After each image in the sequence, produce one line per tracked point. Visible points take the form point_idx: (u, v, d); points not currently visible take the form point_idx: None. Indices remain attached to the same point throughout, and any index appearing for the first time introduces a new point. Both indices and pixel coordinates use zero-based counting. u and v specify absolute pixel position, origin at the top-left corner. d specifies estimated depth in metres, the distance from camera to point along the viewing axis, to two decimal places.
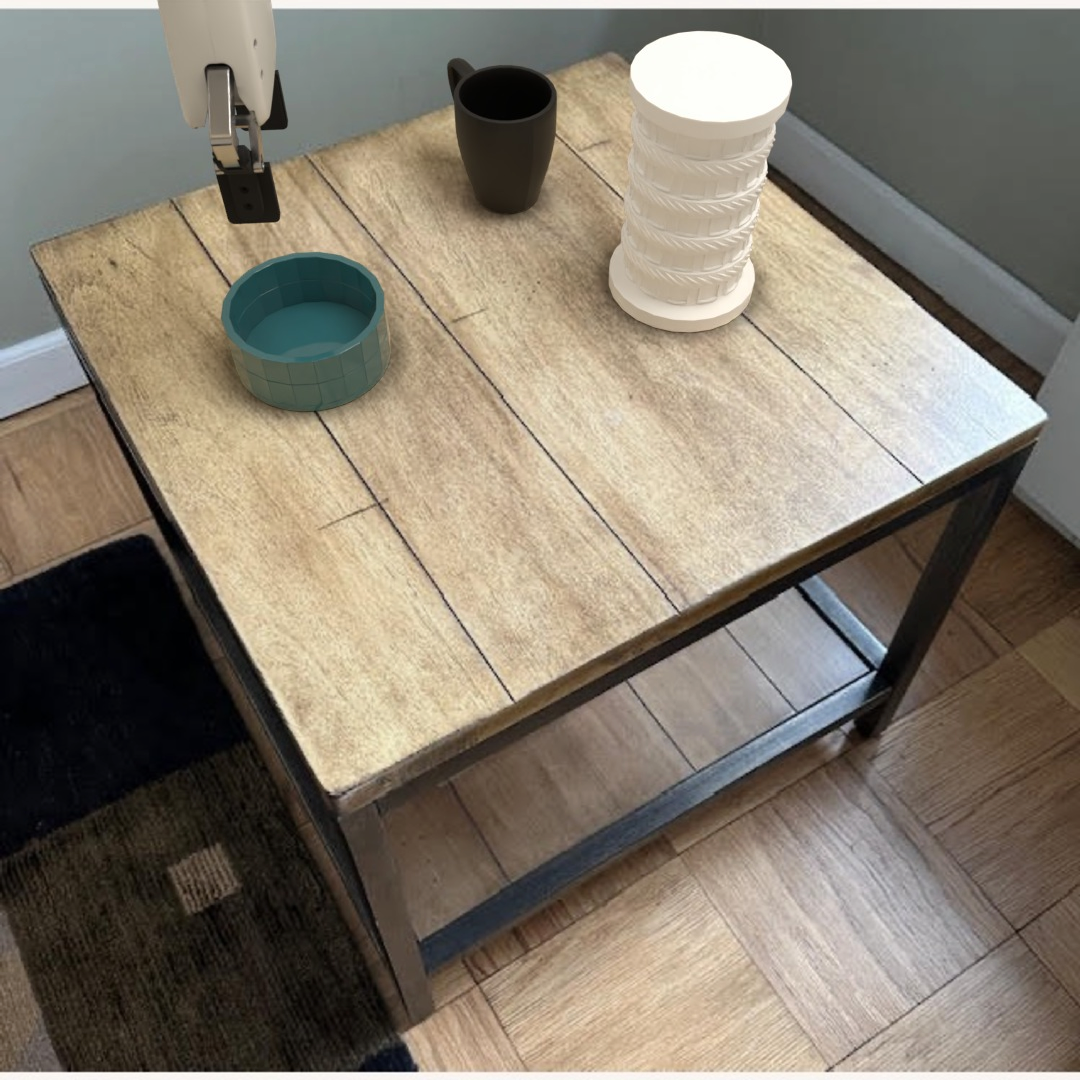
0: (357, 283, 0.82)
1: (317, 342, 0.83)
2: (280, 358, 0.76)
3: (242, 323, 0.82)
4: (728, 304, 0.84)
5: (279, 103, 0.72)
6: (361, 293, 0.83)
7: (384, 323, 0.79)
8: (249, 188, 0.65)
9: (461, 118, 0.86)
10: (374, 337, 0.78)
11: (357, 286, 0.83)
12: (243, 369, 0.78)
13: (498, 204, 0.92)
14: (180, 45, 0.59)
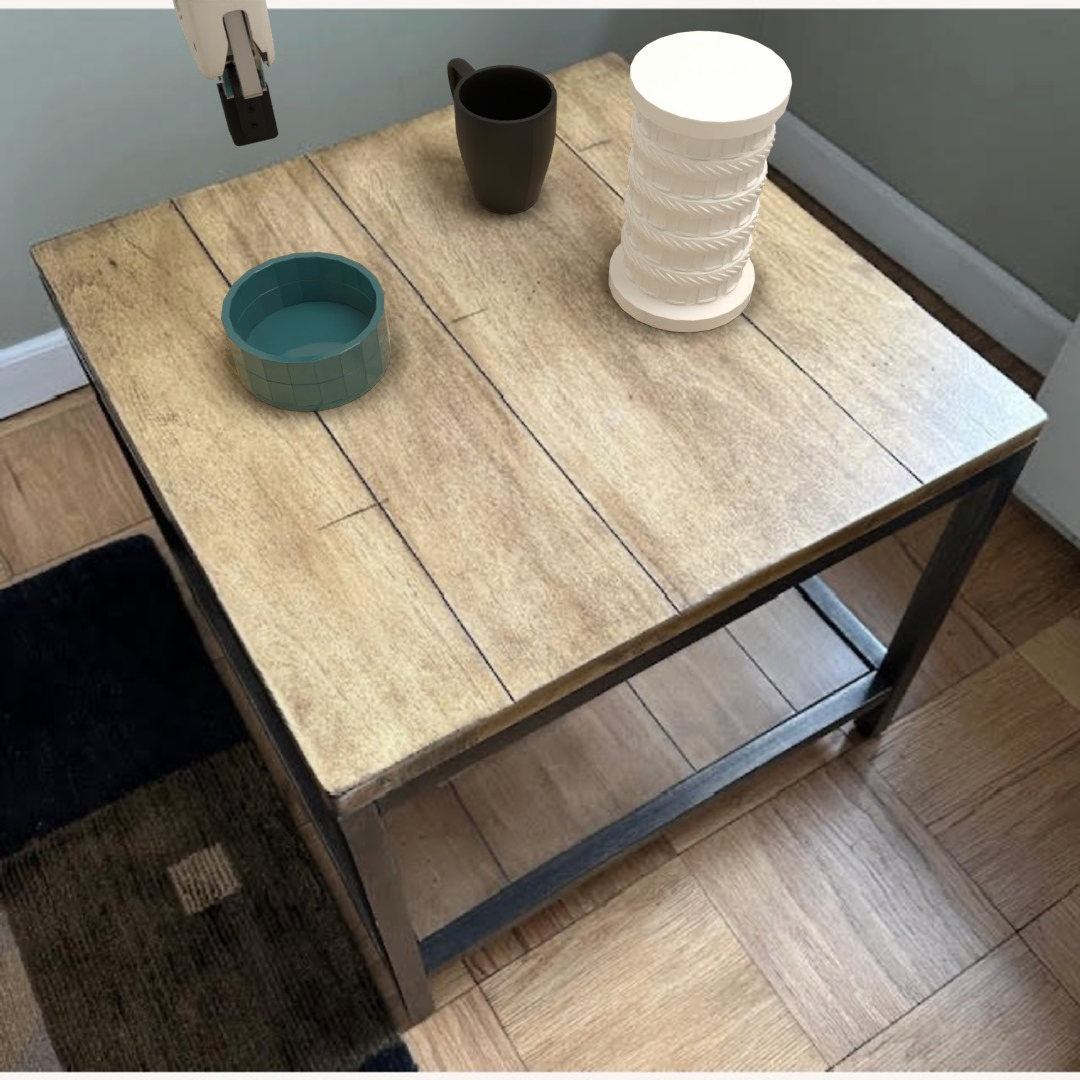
0: (357, 283, 0.82)
1: (317, 342, 0.83)
2: (280, 358, 0.76)
3: (242, 323, 0.82)
4: (728, 304, 0.84)
5: None
6: (361, 293, 0.83)
7: (384, 323, 0.79)
8: (254, 107, 0.75)
9: (461, 118, 0.86)
10: (374, 337, 0.78)
11: (357, 286, 0.83)
12: (243, 369, 0.78)
13: (498, 204, 0.92)
14: None
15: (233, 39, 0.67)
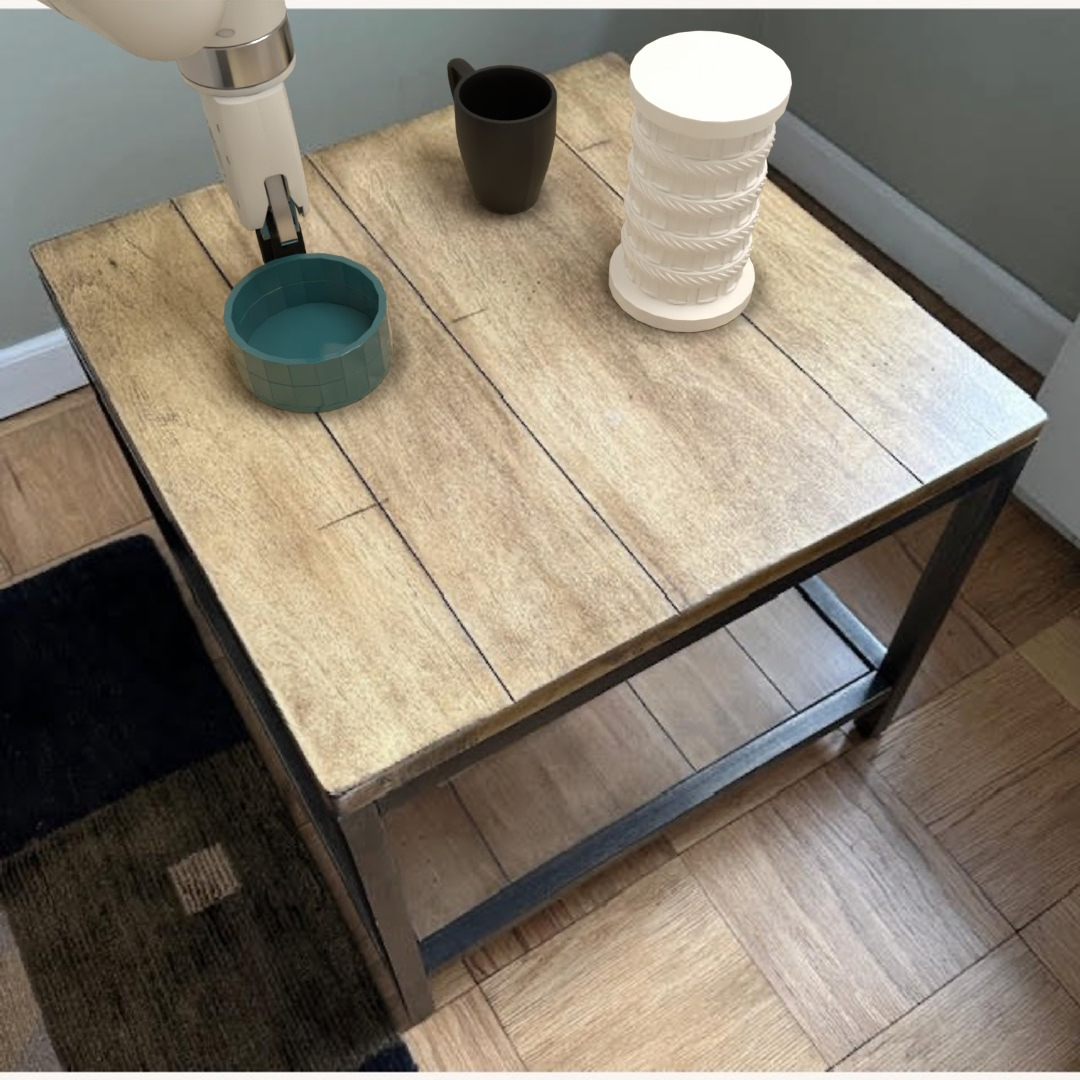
0: (360, 285, 0.82)
1: (319, 343, 0.83)
2: (281, 359, 0.76)
3: (244, 323, 0.82)
4: (728, 304, 0.84)
5: None
6: (364, 295, 0.83)
7: (386, 325, 0.79)
8: (288, 245, 0.82)
9: (461, 118, 0.86)
10: (376, 339, 0.78)
11: (360, 288, 0.83)
12: (244, 370, 0.78)
13: (498, 204, 0.92)
14: (245, 167, 0.72)
15: (273, 197, 0.75)
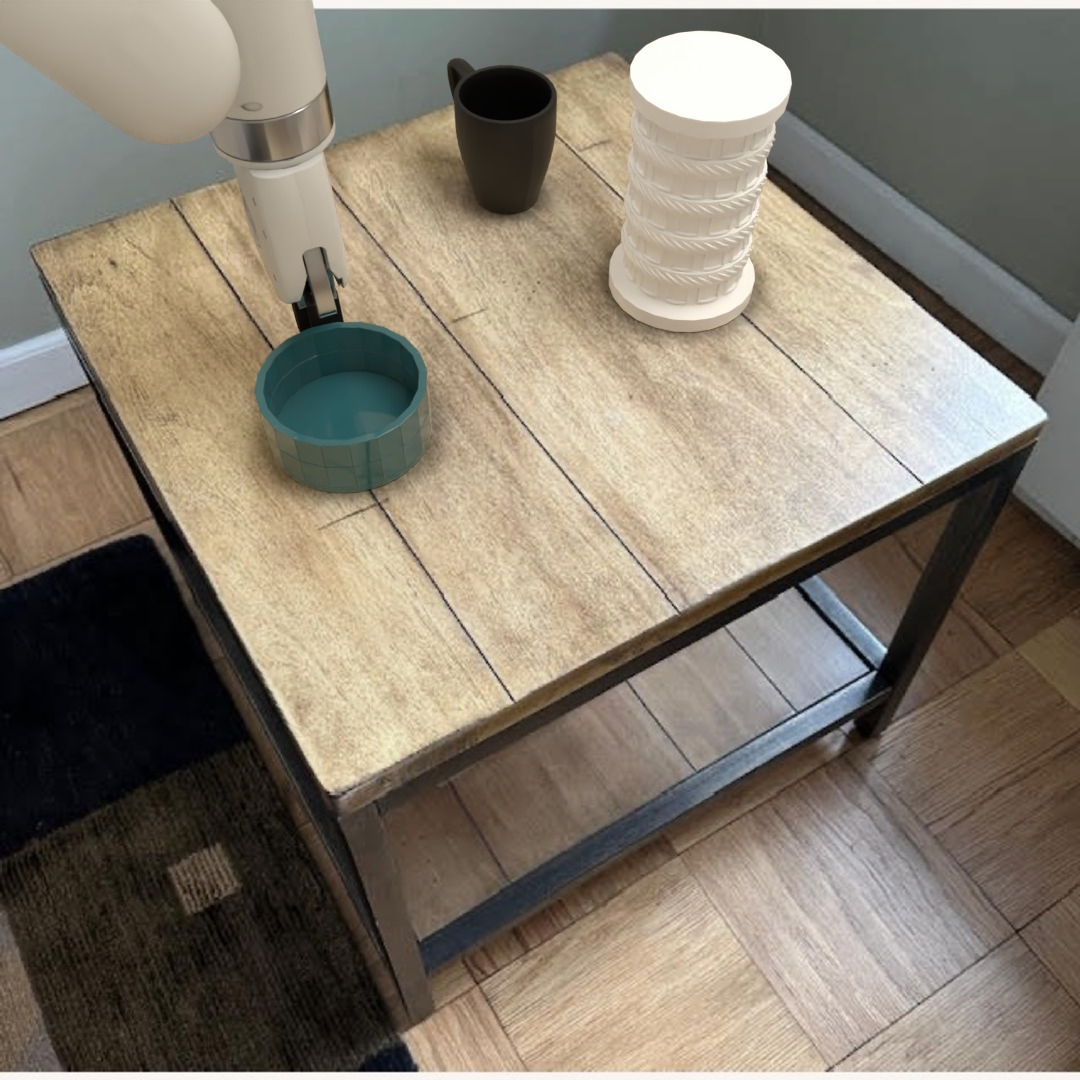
0: (400, 356, 0.78)
1: (355, 416, 0.78)
2: (314, 440, 0.71)
3: (277, 394, 0.77)
4: (728, 304, 0.84)
5: None
6: (403, 366, 0.79)
7: (426, 403, 0.75)
8: None
9: (461, 118, 0.86)
10: (414, 419, 0.73)
11: (399, 359, 0.78)
12: (275, 446, 0.74)
13: (498, 204, 0.92)
14: (282, 241, 0.68)
15: (311, 269, 0.70)
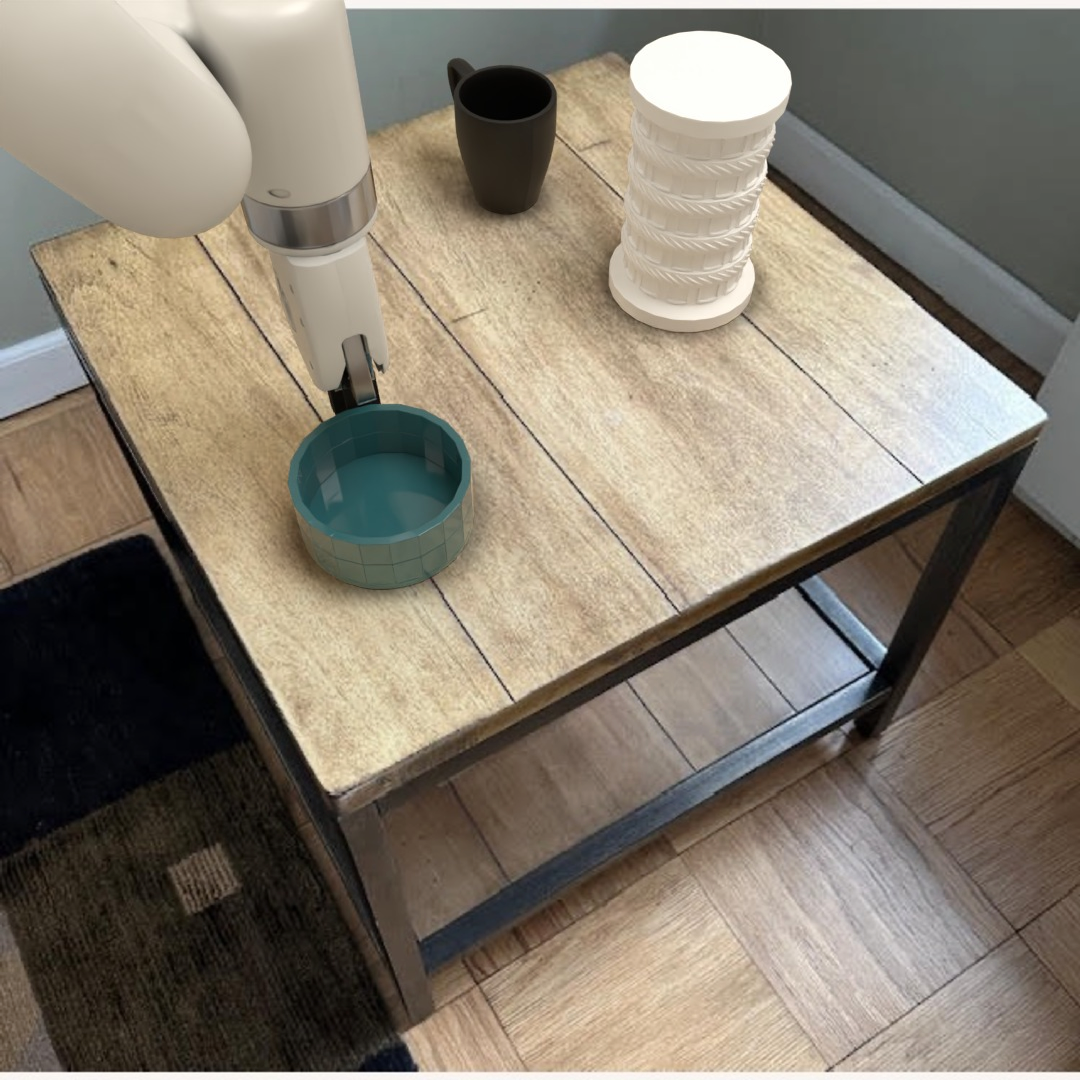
0: (441, 441, 0.73)
1: (392, 504, 0.74)
2: (352, 538, 0.67)
3: (310, 481, 0.73)
4: (728, 304, 0.84)
5: None
6: (444, 451, 0.74)
7: (469, 495, 0.70)
8: None
9: (461, 118, 0.86)
10: (458, 513, 0.69)
11: (440, 443, 0.74)
12: (309, 540, 0.70)
13: (498, 204, 0.92)
14: (321, 330, 0.63)
15: (350, 356, 0.66)
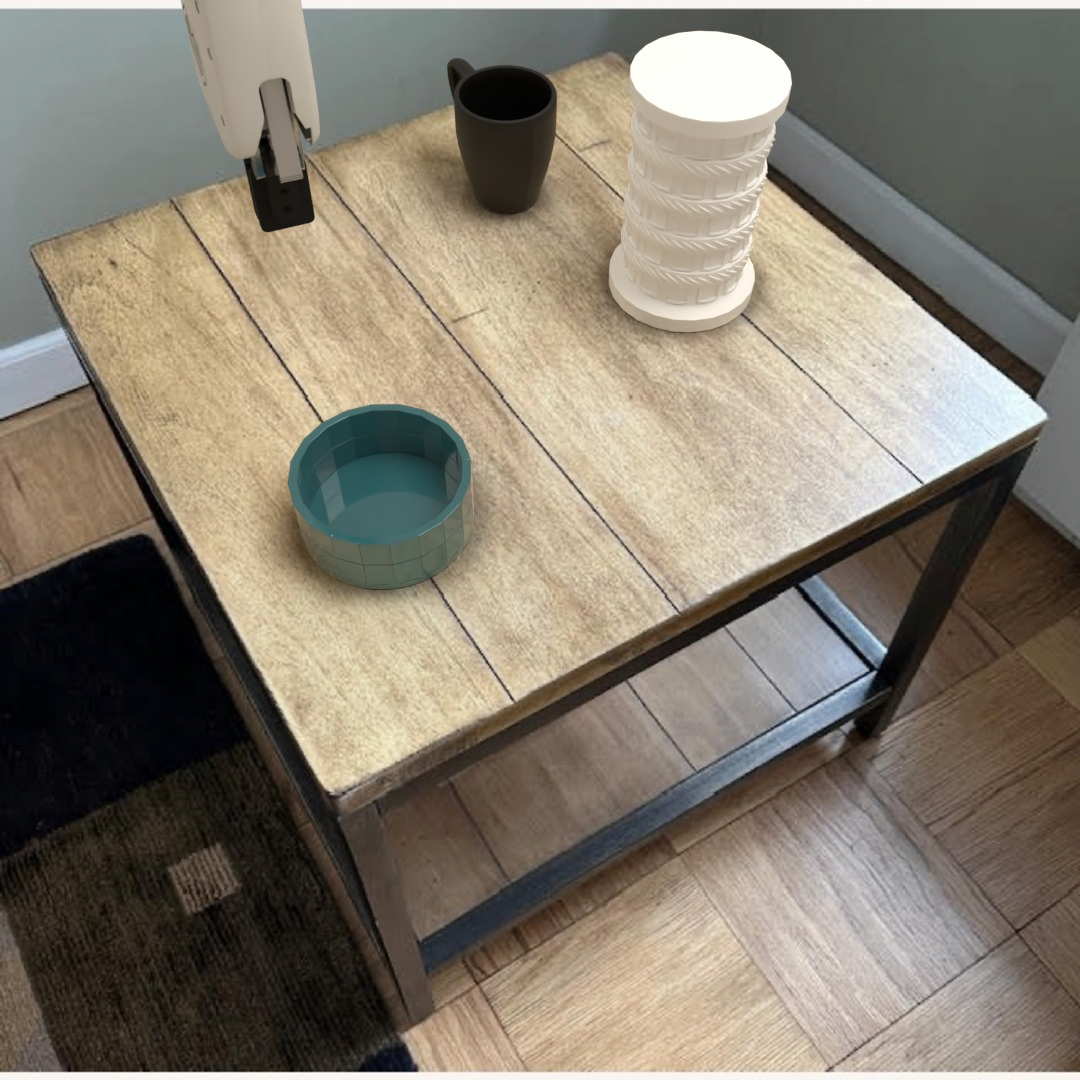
0: (441, 441, 0.73)
1: (392, 504, 0.74)
2: (352, 538, 0.67)
3: (310, 481, 0.73)
4: (728, 304, 0.84)
5: None
6: (444, 451, 0.74)
7: (469, 495, 0.70)
8: (289, 189, 0.62)
9: (461, 118, 0.86)
10: (458, 513, 0.69)
11: (440, 444, 0.74)
12: (309, 540, 0.70)
13: (498, 204, 0.92)
14: (233, 64, 0.52)
15: (270, 112, 0.54)
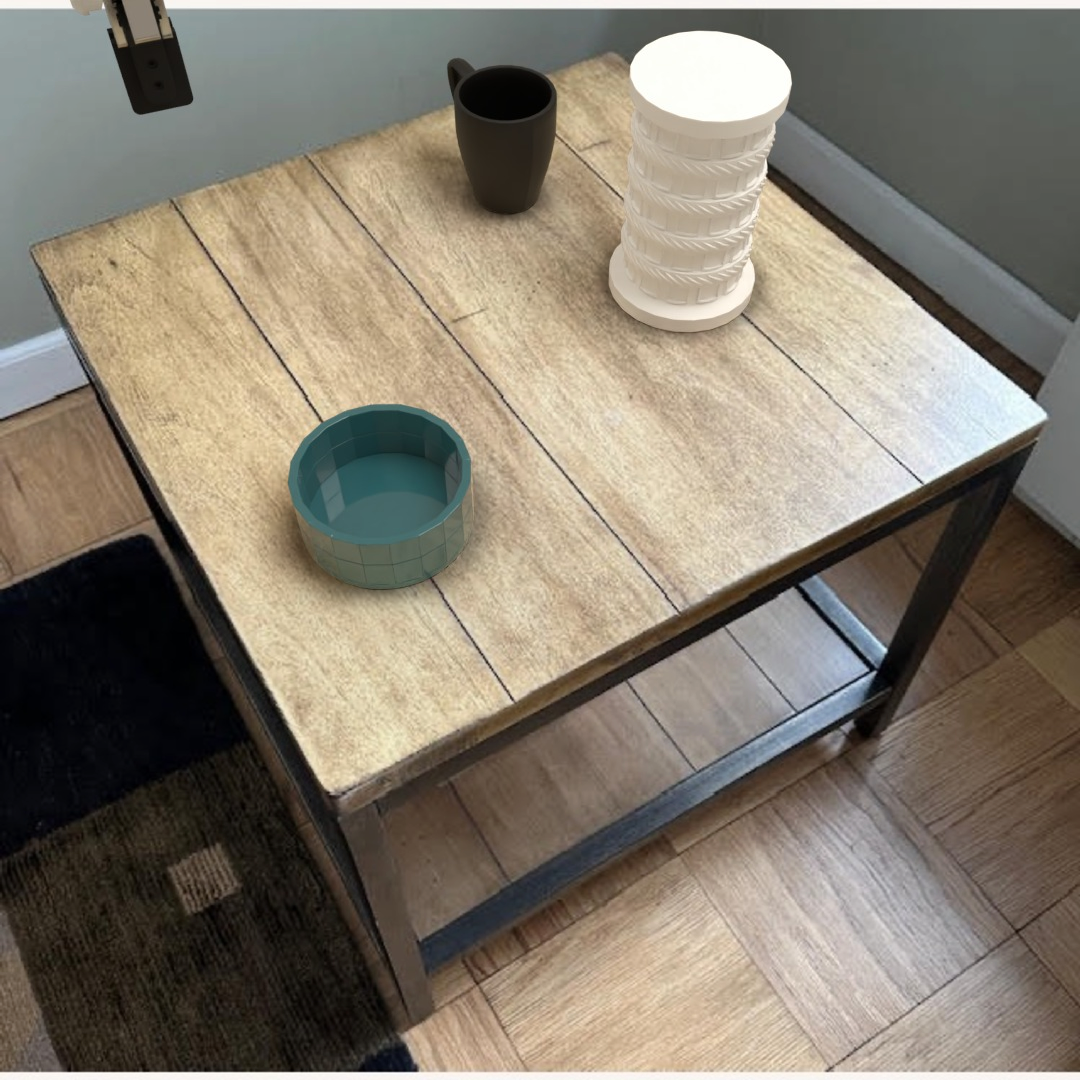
0: (441, 441, 0.73)
1: (392, 504, 0.74)
2: (352, 538, 0.67)
3: (310, 481, 0.73)
4: (728, 304, 0.84)
5: None
6: (444, 451, 0.74)
7: (469, 495, 0.70)
8: (157, 61, 0.56)
9: (461, 118, 0.86)
10: (458, 513, 0.69)
11: (440, 444, 0.74)
12: (309, 540, 0.70)
13: (498, 204, 0.92)
14: None
15: None
